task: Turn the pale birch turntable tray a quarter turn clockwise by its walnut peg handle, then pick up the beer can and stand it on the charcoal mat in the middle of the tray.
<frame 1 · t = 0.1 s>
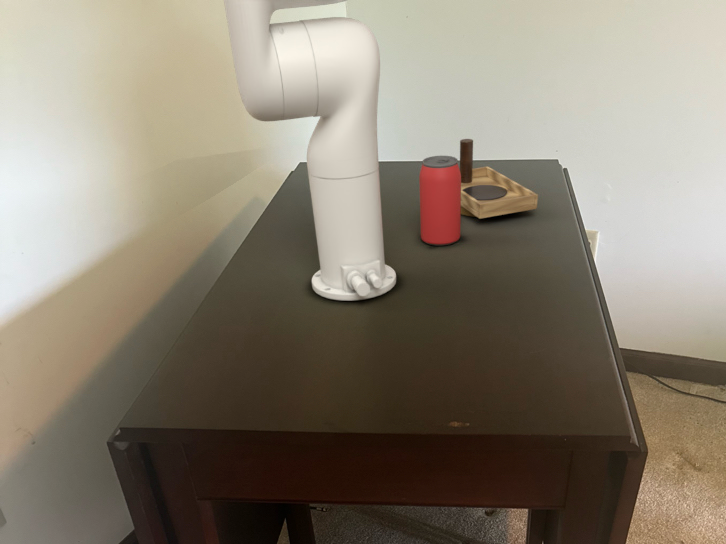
tray: (484, 174, 120), point 5 cm above the table, hinge at 0.0°
beer can: (440, 241, 112), on the table
turntable base: (483, 207, 124), on the table
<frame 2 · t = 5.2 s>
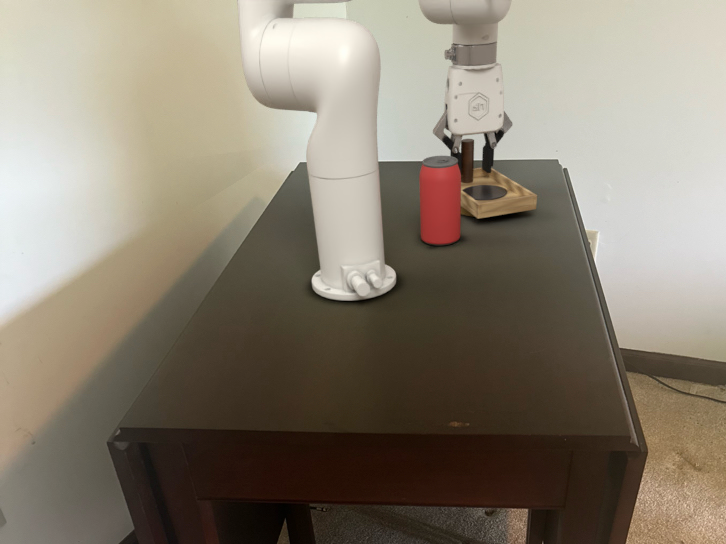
hand: (471, 172, 126), 4 cm above the table, tool pointing down, fingers open, 5 cm apart
tray: (484, 174, 120), point 5 cm above the table, hinge at -1.4°, touching gripper
everything else where it was.
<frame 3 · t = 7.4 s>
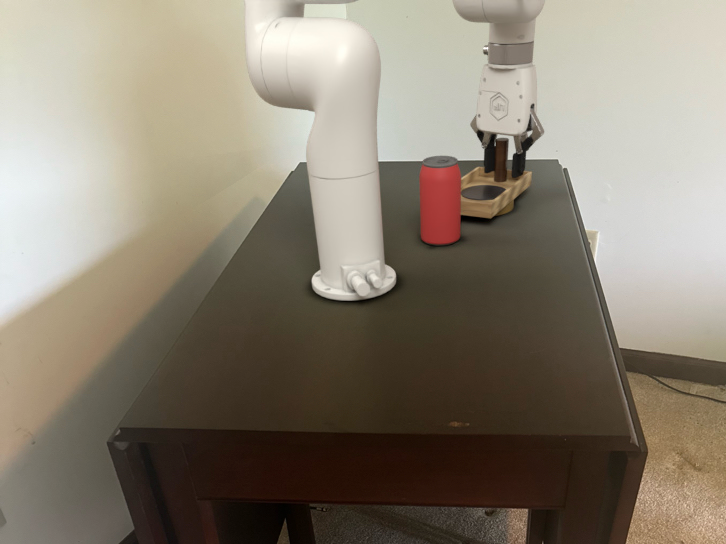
hand: (503, 172, 125), 4 cm above the table, tool pointing down, fingers open, 5 cm apart
tray: (484, 174, 120), point 5 cm above the table, hinge at -47.8°, touching gripper
everything else where it was.
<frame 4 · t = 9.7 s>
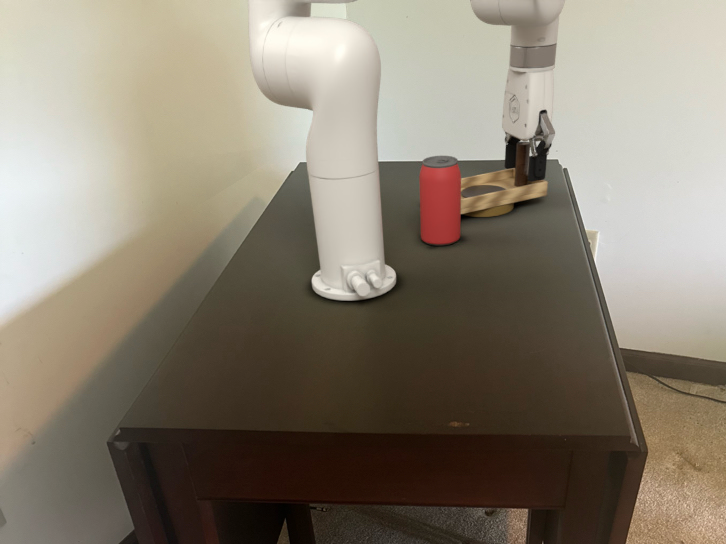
hand: (524, 173, 122), 5 cm above the table, tool pointing down, fingers open, 8 cm apart
tray: (484, 174, 120), point 5 cm above the table, hinge at -83.3°
everything else where it was.
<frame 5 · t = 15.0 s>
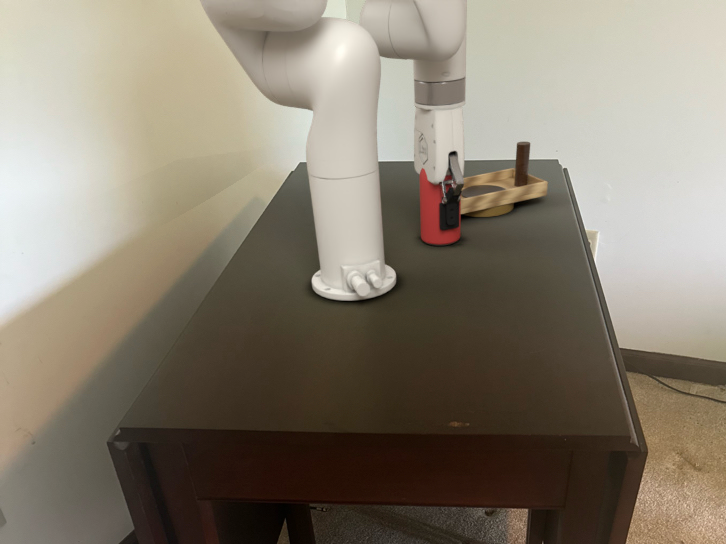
hand: (440, 220, 110), 3 cm above the table, tool pointing down, fingers closed on beer can, 6 cm apart
beer can: (440, 241, 112), on the table, touching gripper
everything else where it was.
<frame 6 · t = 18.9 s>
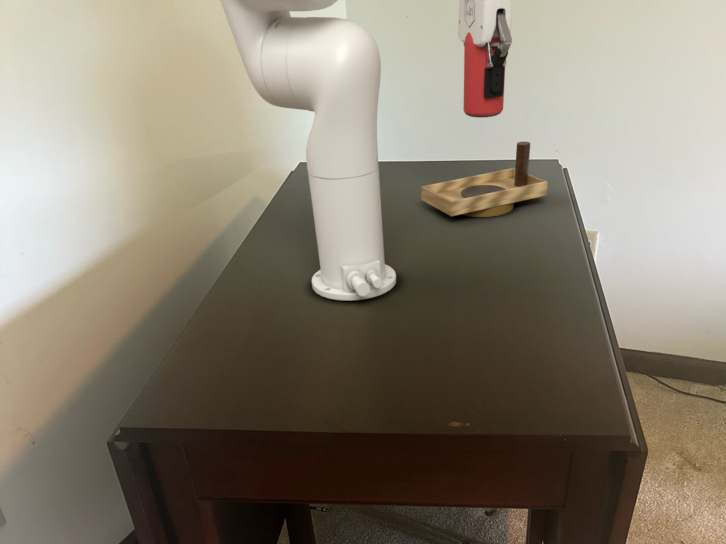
hand: (483, 92, 110), 18 cm above the table, tool pointing down, fingers closed on beer can, 6 cm apart
beer can: (483, 115, 112), point 15 cm above the table, touching gripper
everything else where it was.
when the fingers open (6 cm above the table, at t = 22.8 s): beer can stays where it is, resting on tray.
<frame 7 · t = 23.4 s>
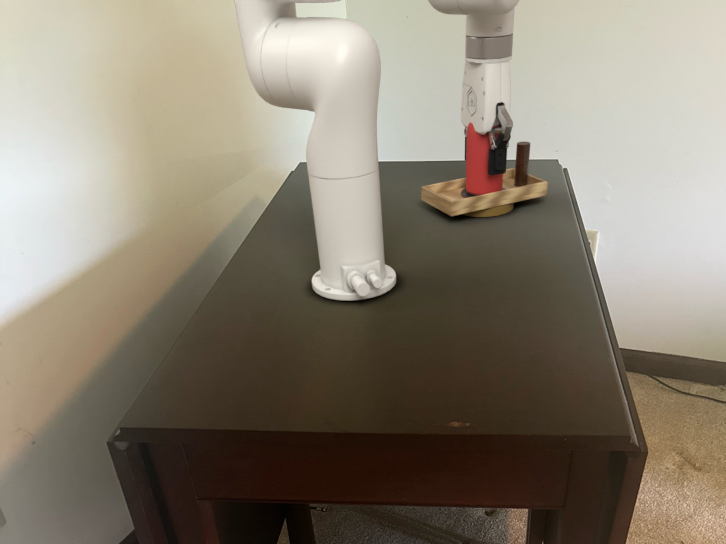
hand: (484, 167, 119), 7 cm above the table, tool pointing down, fingers open, 9 cm apart
tray: (484, 174, 120), point 5 cm above the table, hinge at -83.3°, touching beer can
beer can: (483, 193, 122), point 2 cm above the table, touching tray
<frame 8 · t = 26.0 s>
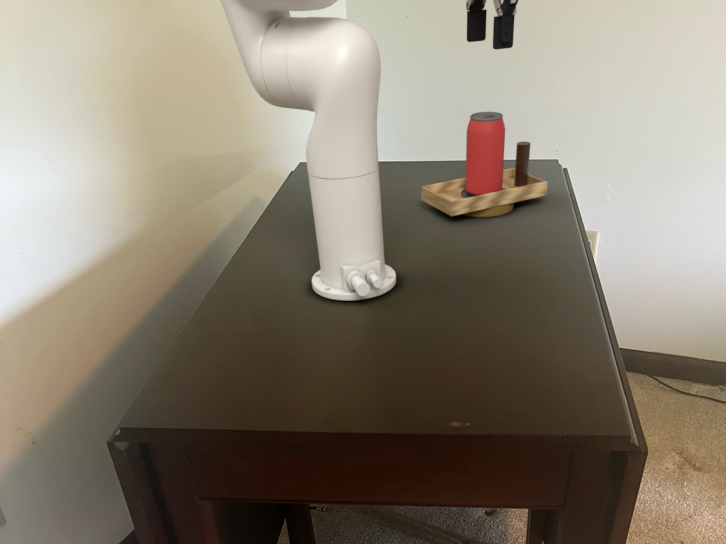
hand: (489, 44, 107), 24 cm above the table, tool pointing down, fingers open, 9 cm apart
nothing on the table moved.
at the end: tray at -83° (first picture: +0°); beer can 0.0 cm off-centre on the tray, point 0.8 cm above the tray's base; beer can tilted 0° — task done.
